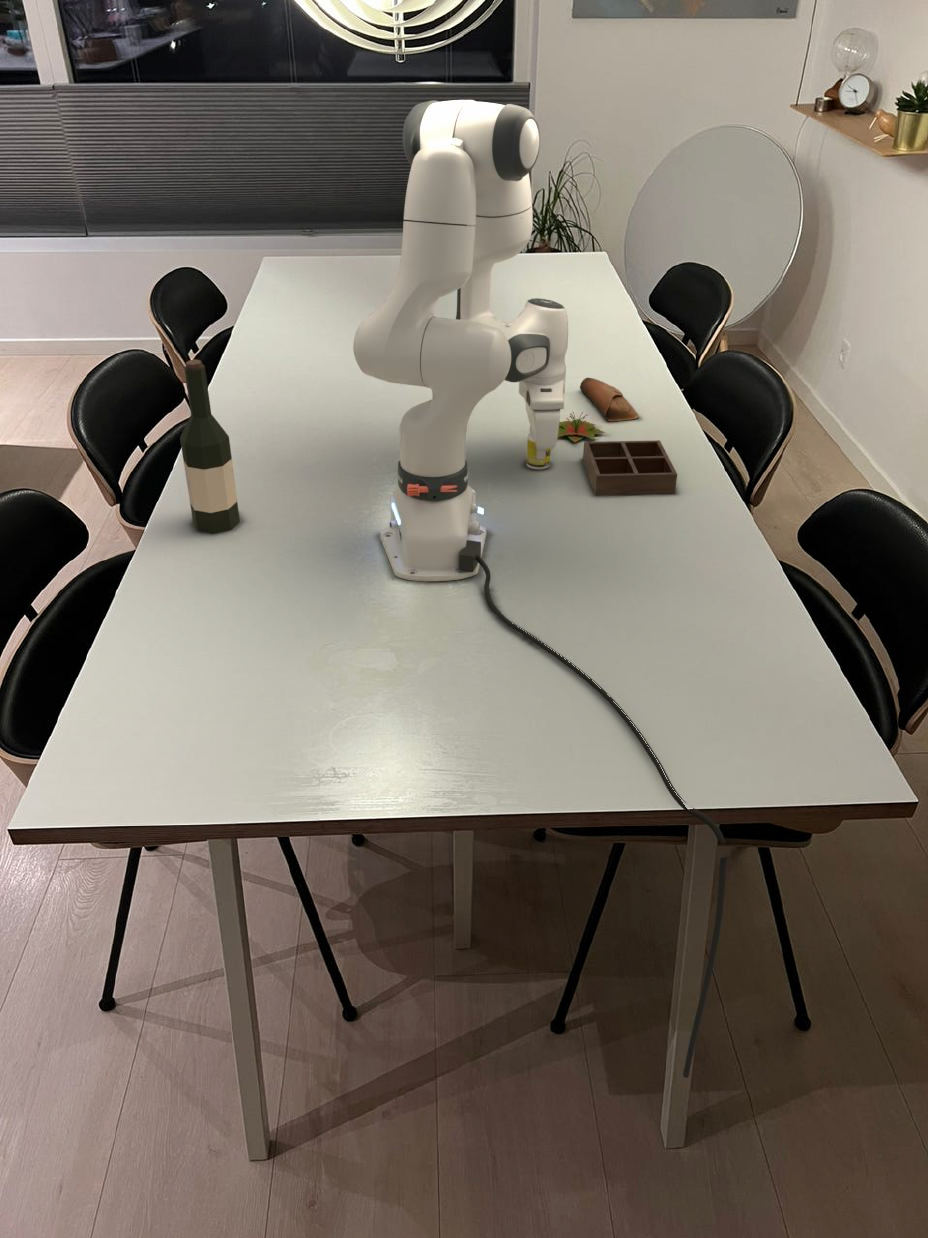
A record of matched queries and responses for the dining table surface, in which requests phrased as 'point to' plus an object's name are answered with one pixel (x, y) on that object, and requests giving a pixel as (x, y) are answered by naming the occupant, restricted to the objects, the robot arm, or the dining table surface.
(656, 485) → the wooden compartment tray
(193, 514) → the wine bottle
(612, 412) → the sunglasses case
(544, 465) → the supplement bottle
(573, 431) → the lily flower
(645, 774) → the dining table surface
